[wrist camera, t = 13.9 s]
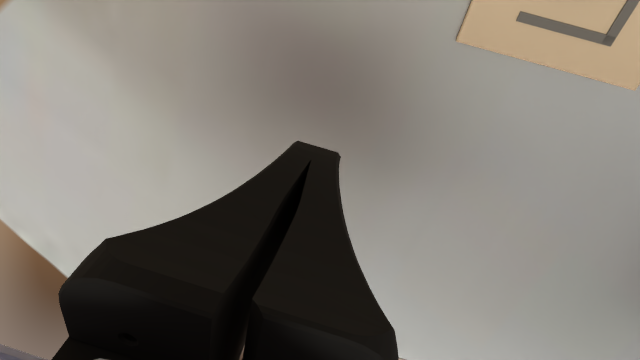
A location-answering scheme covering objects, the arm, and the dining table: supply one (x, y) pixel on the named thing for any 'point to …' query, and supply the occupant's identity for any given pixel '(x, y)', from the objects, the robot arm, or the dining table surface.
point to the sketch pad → (562, 35)
